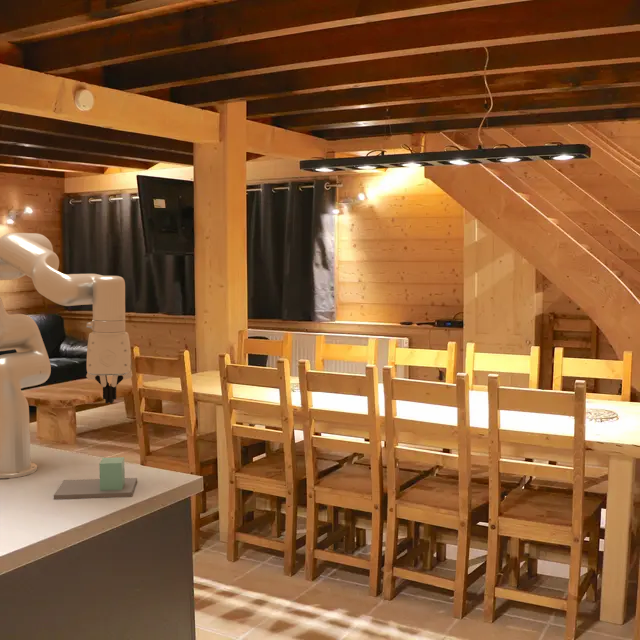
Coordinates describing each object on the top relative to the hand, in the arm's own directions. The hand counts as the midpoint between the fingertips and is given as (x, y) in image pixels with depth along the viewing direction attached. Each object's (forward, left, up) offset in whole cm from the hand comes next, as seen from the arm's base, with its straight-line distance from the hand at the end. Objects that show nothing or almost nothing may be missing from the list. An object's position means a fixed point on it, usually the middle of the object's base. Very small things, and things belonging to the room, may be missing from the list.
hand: (109, 402), depth 185 cm
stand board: (-4, +1, -22) cm, 22 cm away
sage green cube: (0, 0, -21) cm, 21 cm away
